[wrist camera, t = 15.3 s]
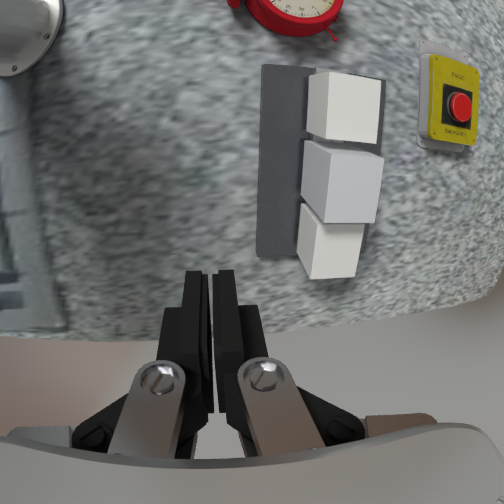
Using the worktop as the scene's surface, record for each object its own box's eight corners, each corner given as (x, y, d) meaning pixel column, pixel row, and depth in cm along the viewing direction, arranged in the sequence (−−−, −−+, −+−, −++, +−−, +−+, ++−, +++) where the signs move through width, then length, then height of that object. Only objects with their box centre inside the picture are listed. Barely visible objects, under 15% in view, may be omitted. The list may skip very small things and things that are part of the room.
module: (304, 140, 31) (331, 153, 24) (349, 143, 31) (385, 158, 24) (300, 194, 33) (323, 222, 26) (344, 195, 34) (375, 223, 27)
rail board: (261, 65, 29) (265, 62, 26) (379, 80, 30) (390, 80, 28) (255, 250, 39) (258, 260, 37) (359, 247, 40) (366, 256, 38)
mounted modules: (309, 75, 27) (329, 71, 22) (353, 81, 28) (381, 80, 23) (296, 252, 37) (310, 279, 31) (335, 250, 37) (354, 276, 32)
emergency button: (433, 153, 31) (436, 34, 24) (413, 146, 35) (416, 37, 28) (480, 159, 32) (485, 55, 25) (461, 152, 36) (465, 55, 29)
